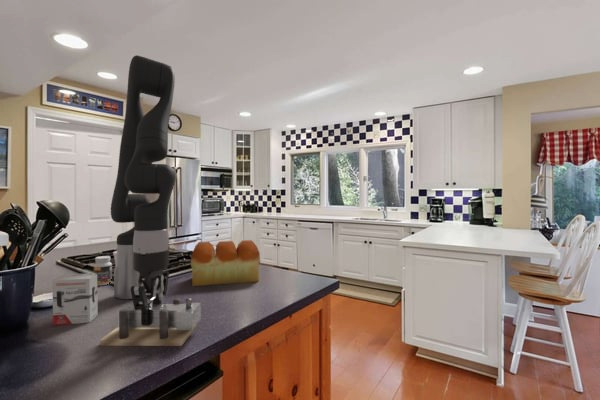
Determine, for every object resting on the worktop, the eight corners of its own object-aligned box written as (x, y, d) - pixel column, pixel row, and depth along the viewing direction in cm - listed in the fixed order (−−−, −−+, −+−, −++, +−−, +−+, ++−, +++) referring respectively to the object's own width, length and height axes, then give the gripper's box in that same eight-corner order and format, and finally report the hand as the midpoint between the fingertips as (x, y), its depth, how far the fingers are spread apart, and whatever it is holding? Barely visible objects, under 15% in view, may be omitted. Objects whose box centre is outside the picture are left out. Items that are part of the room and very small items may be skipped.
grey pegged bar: (114, 329, 68) (114, 303, 68) (129, 318, 74) (129, 294, 74) (192, 329, 68) (192, 303, 68) (200, 318, 74) (200, 294, 74)
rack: (99, 345, 66) (99, 313, 66) (126, 325, 76) (126, 297, 76) (181, 345, 66) (181, 313, 66) (197, 326, 76) (197, 297, 76)
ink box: (51, 326, 76) (51, 279, 76) (62, 318, 81) (62, 274, 80) (90, 322, 78) (89, 277, 78) (98, 315, 83) (98, 272, 82)
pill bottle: (92, 287, 107) (92, 259, 107) (94, 282, 112) (94, 256, 112) (111, 284, 110) (111, 257, 110) (112, 280, 115) (112, 255, 115)
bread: (255, 273, 127) (256, 238, 127) (260, 281, 115) (260, 243, 115) (193, 277, 121) (193, 240, 120) (191, 286, 109) (190, 246, 108)
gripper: (150, 243, 78) (150, 309, 78) (117, 254, 64) (117, 334, 64) (179, 243, 78) (179, 309, 78) (152, 254, 64) (152, 335, 64)
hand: (151, 320), depth 71 cm, fingers closed on grey pegged bar, 4 cm apart
